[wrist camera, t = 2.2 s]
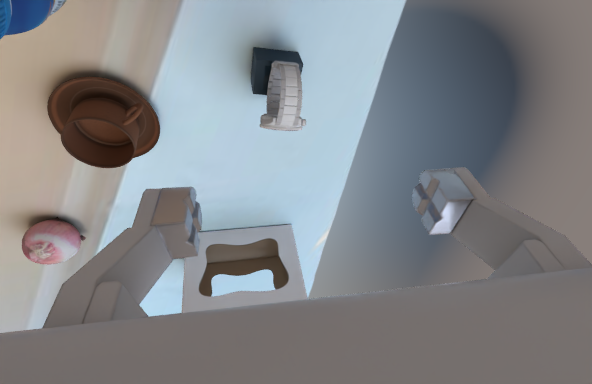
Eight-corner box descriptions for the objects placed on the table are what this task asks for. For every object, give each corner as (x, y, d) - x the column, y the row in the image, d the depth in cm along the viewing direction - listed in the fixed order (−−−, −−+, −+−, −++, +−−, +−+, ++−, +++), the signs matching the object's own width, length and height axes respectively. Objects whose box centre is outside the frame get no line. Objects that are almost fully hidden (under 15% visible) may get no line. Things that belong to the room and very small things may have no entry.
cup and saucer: (69, 48, 32) (50, 76, 28) (177, 104, 39) (174, 133, 35) (41, 124, 38) (22, 157, 34) (139, 162, 45) (133, 192, 41)
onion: (76, 211, 50) (63, 248, 46) (93, 237, 56) (83, 272, 51) (20, 214, 48) (1, 253, 44) (43, 240, 54) (28, 277, 50)
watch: (249, 94, 40) (258, 147, 33) (254, 31, 34) (266, 79, 27) (290, 97, 42) (306, 149, 35) (301, 37, 36) (324, 84, 29)
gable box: (193, 264, 70) (188, 409, 52) (184, 232, 60) (174, 397, 42) (286, 254, 75) (311, 383, 57) (292, 223, 65) (324, 367, 47)
